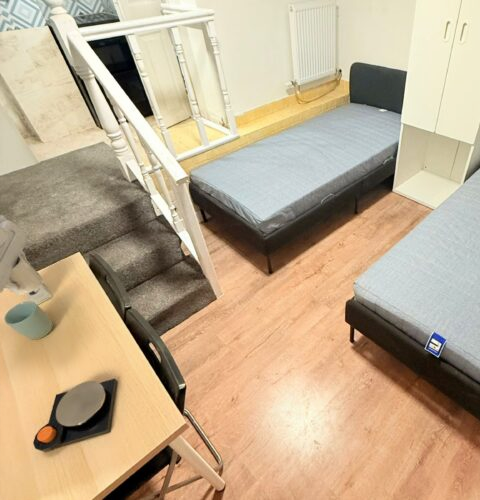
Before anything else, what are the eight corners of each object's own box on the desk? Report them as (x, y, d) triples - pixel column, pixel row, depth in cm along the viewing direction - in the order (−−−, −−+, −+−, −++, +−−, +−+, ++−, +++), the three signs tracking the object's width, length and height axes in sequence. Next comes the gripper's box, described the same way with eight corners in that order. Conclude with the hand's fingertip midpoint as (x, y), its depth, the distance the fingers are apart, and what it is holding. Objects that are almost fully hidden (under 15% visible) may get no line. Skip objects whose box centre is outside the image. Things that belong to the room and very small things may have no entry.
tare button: (40, 444, 75) (35, 442, 74) (44, 431, 77) (39, 428, 76) (54, 440, 76) (50, 438, 74) (58, 426, 78) (53, 424, 77)
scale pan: (51, 433, 76) (50, 432, 76) (63, 389, 84) (61, 388, 83) (101, 418, 78) (100, 418, 78) (108, 376, 86) (107, 375, 85)
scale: (39, 457, 76) (29, 453, 74) (55, 398, 86) (47, 392, 83) (109, 436, 79) (102, 431, 76) (117, 381, 88) (111, 375, 86)
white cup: (10, 297, 84) (-13, 276, 78) (19, 279, 88) (-3, 258, 82) (38, 291, 85) (17, 270, 79) (45, 273, 89) (26, 251, 83)
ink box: (27, 292, 111) (3, 269, 103) (43, 283, 114) (21, 260, 105) (36, 306, 107) (11, 282, 99) (53, 296, 110) (29, 273, 101)
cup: (49, 316, 104) (29, 296, 97) (61, 328, 101) (41, 309, 94) (22, 334, 100) (-1, 315, 93) (34, 348, 96) (10, 329, 89)
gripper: (-18, 213, 81) (20, 253, 91) (-59, 273, 67) (-8, 313, 77) (11, 208, 82) (46, 248, 92) (-23, 266, 68) (22, 306, 78)
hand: (21, 278), depth 84 cm, fingers closed on white cup, 6 cm apart
